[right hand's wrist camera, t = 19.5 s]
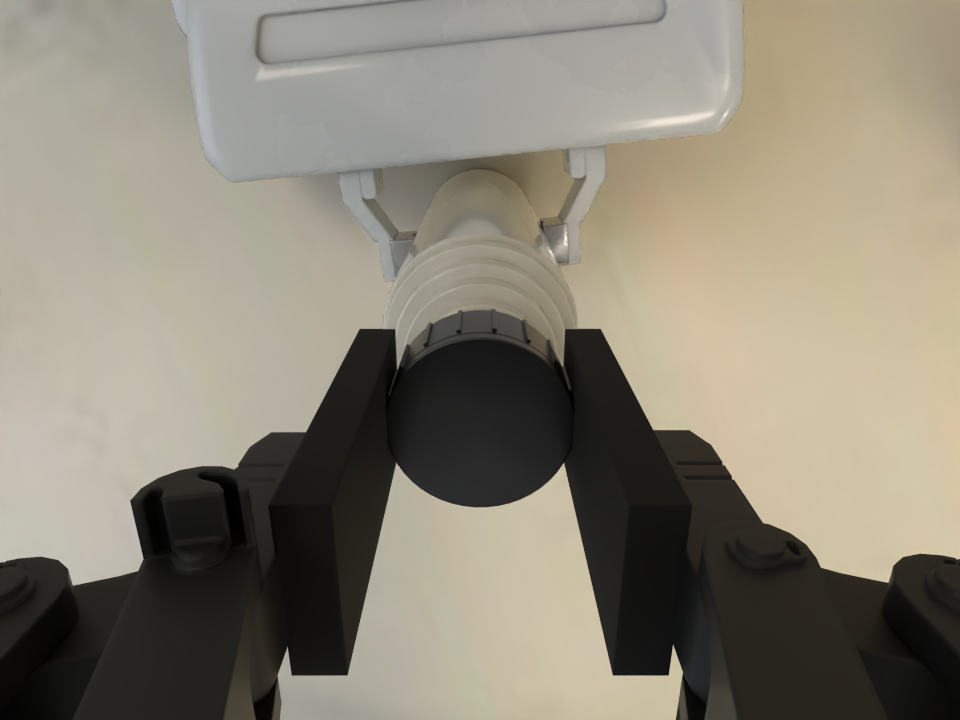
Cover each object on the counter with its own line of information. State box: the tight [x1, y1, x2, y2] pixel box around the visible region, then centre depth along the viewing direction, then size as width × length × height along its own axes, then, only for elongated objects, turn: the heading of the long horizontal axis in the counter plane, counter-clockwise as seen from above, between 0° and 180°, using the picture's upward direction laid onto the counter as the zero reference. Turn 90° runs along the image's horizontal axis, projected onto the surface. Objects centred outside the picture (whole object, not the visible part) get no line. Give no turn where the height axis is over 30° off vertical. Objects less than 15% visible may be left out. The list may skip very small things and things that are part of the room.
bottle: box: [383, 169, 578, 370], centre depth 23 cm, size 5×5×22 cm
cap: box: [386, 309, 574, 507], centre depth 13 cm, size 4×4×2 cm
